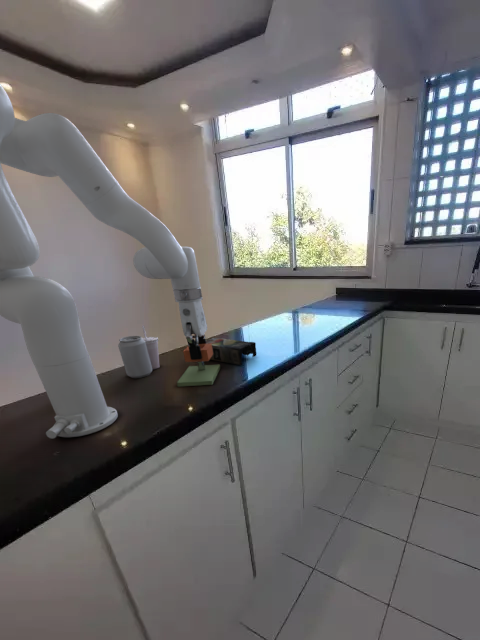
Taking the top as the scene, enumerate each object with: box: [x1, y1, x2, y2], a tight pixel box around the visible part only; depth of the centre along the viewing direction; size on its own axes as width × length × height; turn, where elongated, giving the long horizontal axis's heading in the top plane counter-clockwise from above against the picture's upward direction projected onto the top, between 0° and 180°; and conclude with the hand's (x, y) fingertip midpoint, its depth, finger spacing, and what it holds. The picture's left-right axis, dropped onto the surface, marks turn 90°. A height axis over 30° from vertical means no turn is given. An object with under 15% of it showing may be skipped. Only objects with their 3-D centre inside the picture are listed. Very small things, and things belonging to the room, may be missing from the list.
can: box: [117, 335, 153, 379], centre depth 96 cm, size 8×8×12 cm
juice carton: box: [206, 337, 257, 366], centre depth 110 cm, size 20×10×6 cm, turn 62°
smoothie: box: [141, 325, 160, 370], centre depth 102 cm, size 6×6×14 cm
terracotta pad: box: [182, 344, 213, 363], centre depth 95 cm, size 7×7×4 cm
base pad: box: [176, 361, 221, 387], centre depth 95 cm, size 14×10×4 cm
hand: (199, 354), depth 96 cm, fingers closed on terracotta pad, 7 cm apart
